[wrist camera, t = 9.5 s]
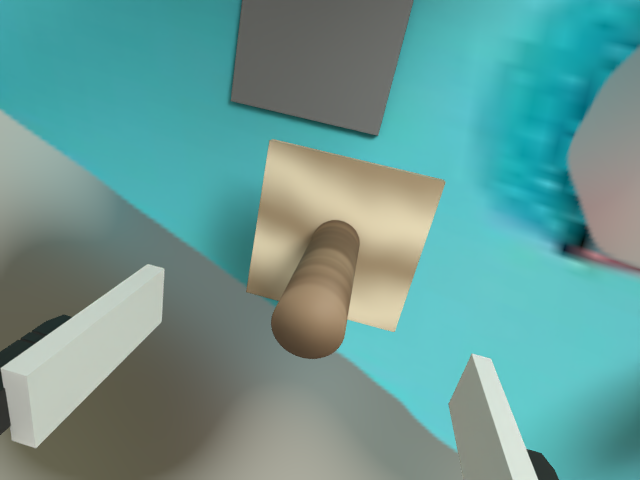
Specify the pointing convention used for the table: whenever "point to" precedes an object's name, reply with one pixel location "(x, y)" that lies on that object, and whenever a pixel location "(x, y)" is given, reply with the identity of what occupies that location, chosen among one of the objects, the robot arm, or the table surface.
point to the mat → (320, 58)
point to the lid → (336, 244)
